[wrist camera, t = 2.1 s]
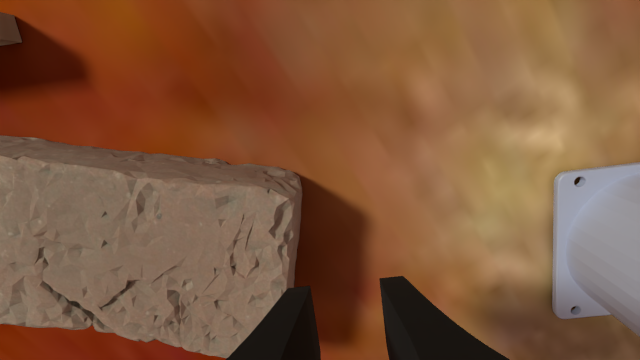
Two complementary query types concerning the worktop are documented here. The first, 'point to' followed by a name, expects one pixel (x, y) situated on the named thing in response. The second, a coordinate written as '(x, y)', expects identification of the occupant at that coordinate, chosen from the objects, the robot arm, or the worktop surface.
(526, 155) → the worktop surface
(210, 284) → the brick
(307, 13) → the worktop surface
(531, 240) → the worktop surface
